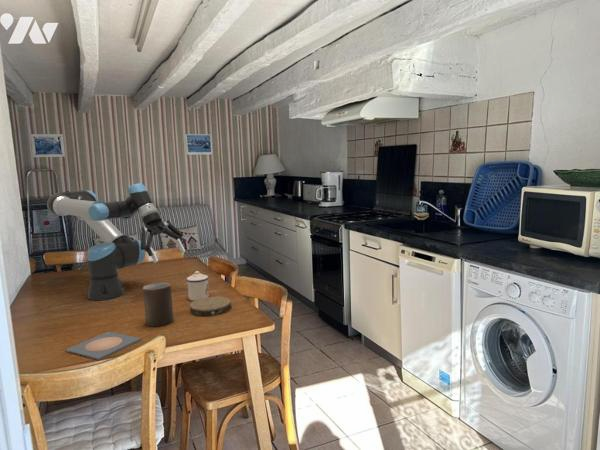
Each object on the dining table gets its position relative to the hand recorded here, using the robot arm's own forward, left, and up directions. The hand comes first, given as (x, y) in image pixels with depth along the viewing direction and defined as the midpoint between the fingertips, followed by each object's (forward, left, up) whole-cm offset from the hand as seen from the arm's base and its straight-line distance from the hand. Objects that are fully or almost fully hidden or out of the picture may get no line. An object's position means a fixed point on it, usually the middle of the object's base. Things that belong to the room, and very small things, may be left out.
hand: (170, 257), depth 190 cm
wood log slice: (+30, -10, -18) cm, 36 cm away
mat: (+20, -51, -17) cm, 57 cm away
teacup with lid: (+14, +1, -17) cm, 22 cm away
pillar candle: (+21, -28, -17) cm, 39 cm away
